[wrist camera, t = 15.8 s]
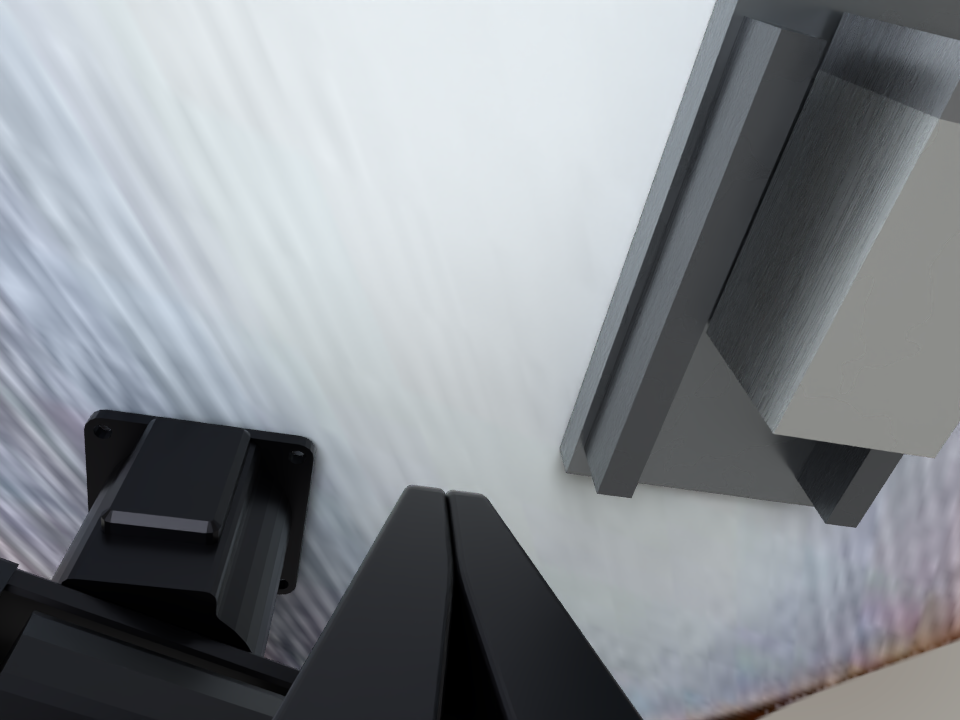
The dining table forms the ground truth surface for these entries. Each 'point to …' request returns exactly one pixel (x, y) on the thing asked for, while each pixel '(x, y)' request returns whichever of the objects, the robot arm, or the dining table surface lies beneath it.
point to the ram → (858, 253)
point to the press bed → (720, 278)
